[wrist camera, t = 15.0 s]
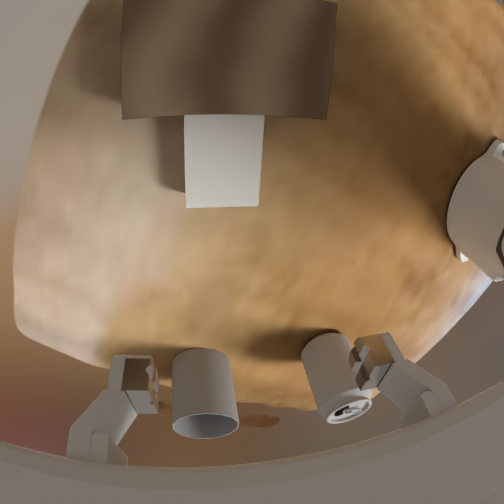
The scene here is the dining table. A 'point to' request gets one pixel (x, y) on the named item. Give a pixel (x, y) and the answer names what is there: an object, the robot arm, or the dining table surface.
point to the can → (334, 378)
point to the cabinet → (227, 57)
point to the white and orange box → (222, 159)
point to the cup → (203, 394)
